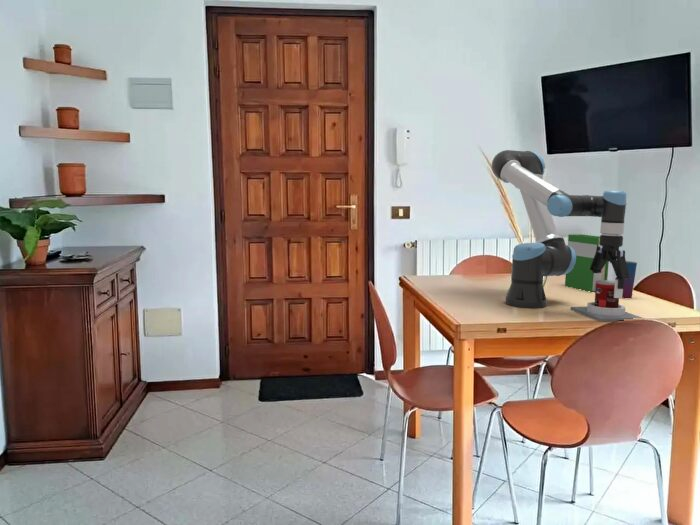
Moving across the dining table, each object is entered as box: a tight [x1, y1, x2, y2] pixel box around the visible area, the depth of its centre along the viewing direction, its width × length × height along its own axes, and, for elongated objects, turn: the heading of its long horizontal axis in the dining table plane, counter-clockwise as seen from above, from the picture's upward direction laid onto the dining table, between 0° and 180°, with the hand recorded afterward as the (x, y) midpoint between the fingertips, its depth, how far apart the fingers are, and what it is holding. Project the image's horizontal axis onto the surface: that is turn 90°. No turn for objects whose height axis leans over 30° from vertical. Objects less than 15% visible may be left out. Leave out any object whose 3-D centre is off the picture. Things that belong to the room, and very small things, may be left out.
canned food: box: [594, 279, 620, 308], centre depth 214 cm, size 8×8×11 cm
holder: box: [569, 301, 643, 322], centre depth 215 cm, size 16×20×4 cm
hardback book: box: [564, 233, 610, 293], centre depth 270 cm, size 18×7×24 cm, turn 22°
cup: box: [621, 260, 638, 299], centre depth 251 cm, size 7×7×15 cm
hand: (606, 294), depth 214 cm, fingers open, 13 cm apart
